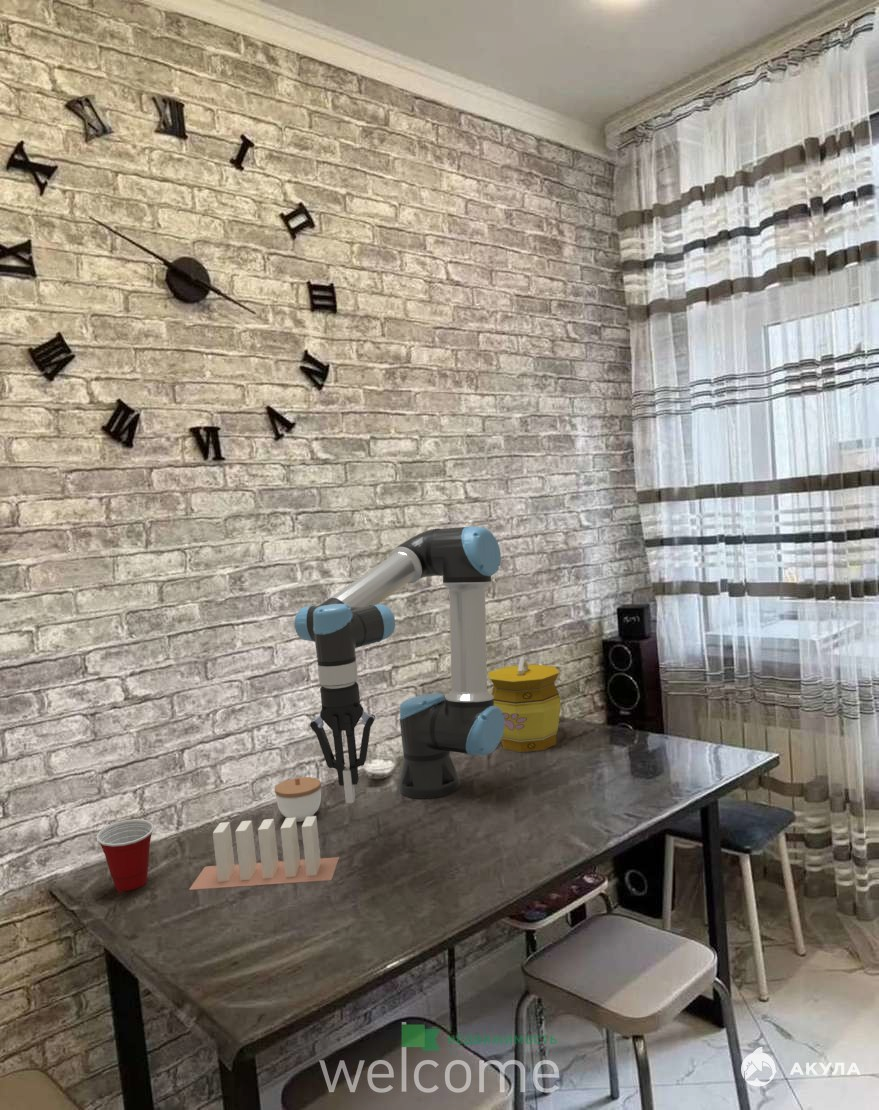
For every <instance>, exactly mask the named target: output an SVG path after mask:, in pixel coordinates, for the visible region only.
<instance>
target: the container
mask: <svg viewBox="0 0 879 1110" xmlns="http://www.w3.org/2000/svg"><path fill="white" fill-rule="evenodd" d="M559 675H560V671H559V670H558V669H557V668H556V666H554V665H545V664H544V665H543V664H528V663H527V661H526V658H525V657H523V656H521V657H520V658H519V663H518V665H508V666H503V667H500V668H497V669H494V670H490V671H487V676H488V677H489V680H490V681H491V682H492V684H493V686H492V691H491V694H492V695H493V697H494V706H497V707H498V708H500V709H501V711H502V714H503V715H504V731H503V735H502V738H501V740H500V742H501V745H502V748H503V750H506V751H512V752H517V753H528V752H529V753H530V752H532V753H533V752H541V751H542V752H543V751H545V750H547V749H550V748H551V747H554V746H556V745H557V744H558V743H557V733H558V729H559V722H560V713H561V706H562V703H561V698H560V693H559V691H558V689H557V687H556V684H555V683H556V681H557V679H558V677H559Z"/></svg>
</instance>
